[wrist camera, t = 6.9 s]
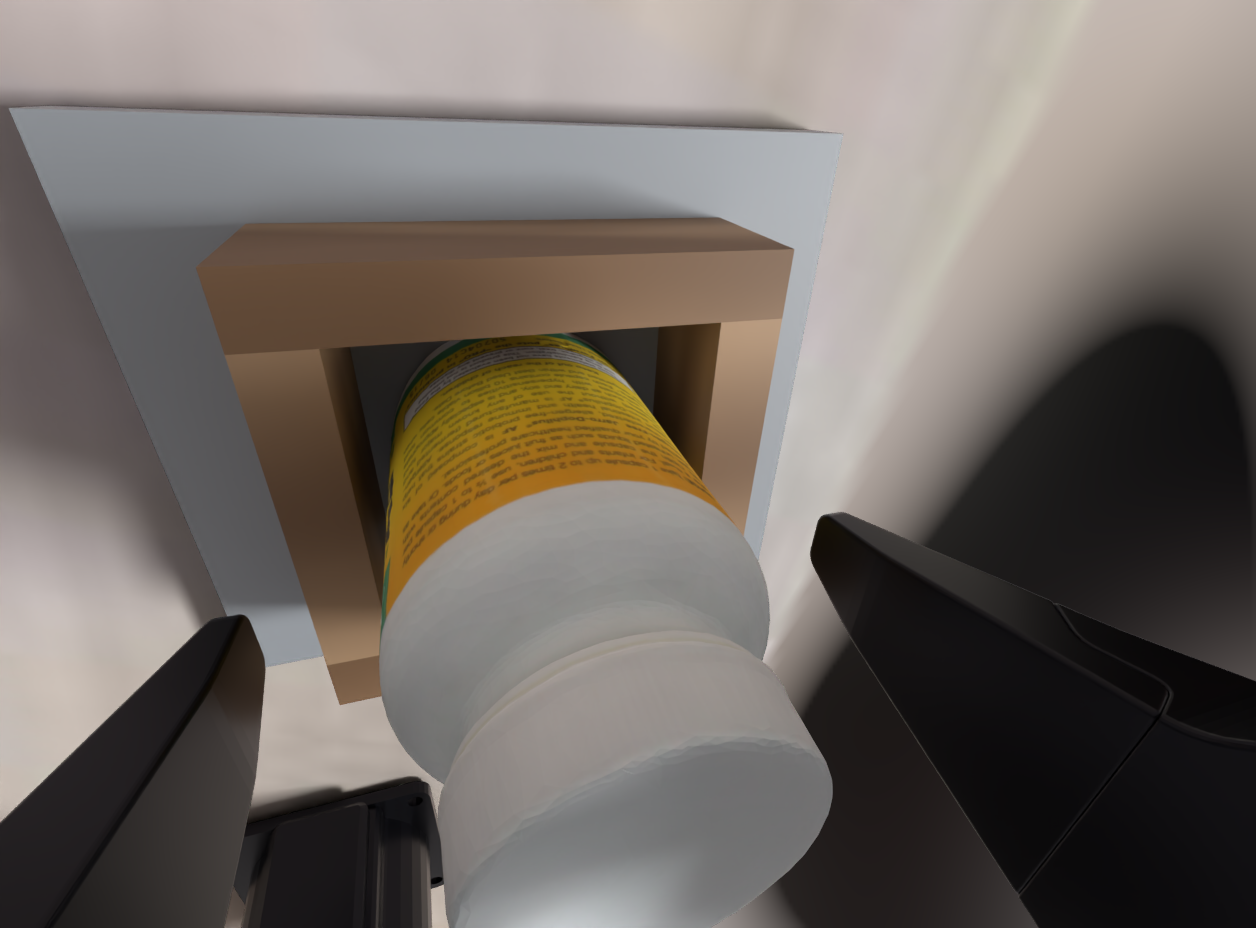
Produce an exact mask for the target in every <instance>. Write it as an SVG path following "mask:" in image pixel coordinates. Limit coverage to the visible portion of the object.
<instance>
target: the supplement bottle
mask: <svg viewBox="0 0 1256 928" xmlns="http://www.w3.org/2000/svg"><path fill="white" fill-rule="evenodd" d="M769 622H770V613H769V598H768V591H767V586H766V582H765V579H764V575H763V573H762V570H761V567H760V565H759V562H758V560H757V558H756V556H755V554H754V553H753V551H752V549H751V547H750V545H749V544H748V542H747V541H746V540H745V538H744V537H743V535H742V534H741V532H740V531H739V529H738V528H737V527H736V525H735V524H734V522H733V521H732V520H731V518H730V517H729V516H728V514H727V513H726V512H725V511H724V509H723V508H722V507H721V505H720V504H719V503H718V501H717V500H716V499H715V498H714V496H713V495H712V494H711V492H710V491H709V490H708V489H707V487H706V486H705V485H704V483H703V482H702V481H701V479H700V478H699V477H698V475H697V474H696V473H695V471H694V470H693V469H692V467H691V466H690V465H689V464H688V462H687V461H686V460H685V458H684V457H683V456H682V454H681V453H680V452H679V450H678V449H677V447H676V446H675V445H674V443H673V442H672V441H671V439H670V438H669V437H668V435H667V434H666V433H665V431H664V430H663V429H662V427H661V426H660V424H659V423H658V422H657V420H656V419H655V418H654V416H653V415H652V414H651V412H650V411H649V410H648V408H647V407H646V406H645V404H644V403H643V402H642V400H641V399H640V398H639V396H638V395H637V394H636V392H635V391H634V389H633V388H632V387H631V385H630V384H629V383H628V381H627V380H626V379H625V377H624V376H623V375H622V373H621V372H620V371H619V370H618V368H617V367H616V366H615V365H614V364H613V363H612V361H611V360H610V359H609V358H608V357H607V356H606V355H604V354H603V353H602V352H601V351H600V350H599V349H598V348H596V347H595V346H593V345H592V344H590V343H589V342H587V341H585V340H583V339H582V338H580V337H578V336H576V335H573V334H571V333H555V334H540V335H525V336H509V337H494V338H479V339H464V340H450V341H448V342H447V343H445V344H443V345H441V346H440V347H439V348H437V349H436V350H435V351H433V352H432V353H431V354H430V355H429V356H428V357H427V358H426V359H425V360H424V361H423V362H422V363H421V364H420V366H419V367H418V368H417V370H416V371H415V372H414V374H413V375H412V376H411V378H410V380H409V381H408V383H407V385H406V387H405V389H404V391H403V393H402V395H401V398H400V400H399V403H398V405H397V408H396V412H395V416H394V420H393V426H392V434H391V443H390V467H389V485H388V502H387V510H386V542H385V565H384V582H383V595H382V612H381V631H380V650H379V672H380V686H381V694H382V700H383V703H384V707H385V710H386V714H387V717H388V720H389V722H390V725H391V727H392V729H393V730H394V732H395V734H396V736H397V738H398V740H399V741H400V743H401V745H402V746H403V747H404V749H405V750H406V752H407V753H408V754H409V755H410V756H411V757H412V758H413V760H414V761H415V762H416V763H417V764H418V765H419V766H420V767H421V768H422V769H424V770H425V771H426V772H427V773H428V774H430V775H431V776H432V777H434V778H435V779H437V780H438V781H440V782H441V783H443V784H444V786H443V789H442V791H441V796H440V801H439V806H438V829H439V835H440V840H441V851H442V865H443V878H444V892H445V905H446V915H447V920H448V924H449V928H711V927H713V926H714V925H716V924H718V923H720V922H721V921H723V920H724V919H725V918H727V917H729V916H731V915H732V914H734V913H736V912H737V911H739V910H740V909H742V908H743V907H744V906H746V905H747V904H749V903H750V902H751V901H753V900H754V899H755V898H756V897H758V896H759V895H760V894H761V893H763V891H765V890H766V889H767V888H769V887H770V886H771V885H772V884H773V883H775V882H776V881H777V880H778V879H779V878H781V877H782V876H783V875H784V874H785V873H786V872H788V871H789V870H790V869H791V868H792V867H793V866H794V865H795V863H796V862H797V861H798V860H800V859H801V857H803V856H804V854H805V853H806V851H807V850H808V849H809V847H810V846H811V844H812V843H813V841H814V840H815V839H816V837H817V836H818V834H819V832H820V830H821V828H822V826H823V824H824V822H825V819H826V817H827V816H828V813H829V810H830V806H831V801H832V779H831V776H830V772H829V770H828V766H827V764H826V761H825V760H824V758H823V756H822V754H821V753H820V751H819V750H818V747H817V746H816V744H815V742H814V741H813V739H812V737H811V736H810V734H809V732H808V731H807V729H806V727H805V725H804V724H803V722H802V720H801V719H800V717H799V715H798V714H797V712H796V710H795V708H794V707H793V705H792V703H791V702H790V700H789V698H788V695H787V693H786V690H785V688H784V686H783V684H782V682H781V681H780V680H779V678H778V677H777V676H776V674H775V673H774V672H773V671H772V670H771V669H770V668H769V667H768V666H767V665H766V664H765V663H763V662H762V659H763V656H764V653H765V650H766V646H767V640H768V634H769Z"/></svg>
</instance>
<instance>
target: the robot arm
mask: <svg viewBox="0 0 1256 928" xmlns="http://www.w3.org/2000/svg"><path fill="white" fill-rule="evenodd" d="M810 557H811V561H812V564H813V567H814V569H815V571H816V573H817V574H818V576H819V578H820V580H821V582H822V584H823V586H824V588H825V590H826V592H827V594H828V596H829V598H830V600H831V602H832V604H833V606H834V607H835V609H836V611H837V613H838V615H839V617H840V619H841V621H842V623H843V625H844V626H845V628H846V630H847V632H848V634H849V636H850V637H851V639H852V641H853V642H854V644H855V646H856V647H857V649H858V650H859V652H860V653H861V655H862V656H863V658H864V659H865V661H866V662H867V664H868V666H869V667H870V669H871V670H872V672H873V673H874V675H875V677H876V678H877V679H878V681H879V683H880V684H881V686H882V687H883V689H884V690H885V692H886V693H887V695H888V696H889V698H890V700H891V701H892V703H893V704H894V706H895V707H896V709H897V710H898V712H899V713H900V715H901V716H902V718H903V719H904V721H905V723H906V724H907V726H908V727H909V729H910V730H911V731H912V733H913V735H914V736H915V738H916V740H917V741H918V743H919V744H920V746H921V747H922V749H923V750H924V752H925V753H926V755H927V757H928V758H929V759H930V761H931V763H932V764H933V766H934V767H935V769H936V770H937V772H938V773H939V775H940V777H941V778H942V780H943V781H944V783H945V784H946V786H947V787H948V789H949V790H950V792H951V793H952V795H953V796H954V798H955V800H956V801H957V802H958V804H959V806H960V807H961V809H962V810H963V812H964V813H965V815H966V816H967V818H968V820H969V821H970V823H971V824H972V826H973V827H974V829H975V830H976V832H977V833H978V835H979V837H980V838H981V840H982V841H983V843H984V844H985V846H986V847H987V849H988V850H989V852H990V853H991V855H992V856H993V858H994V860H995V861H996V863H997V864H998V866H999V867H1000V869H1001V870H1002V872H1003V873H1004V875H1005V877H1006V878H1007V880H1008V881H1009V883H1010V884H1011V886H1012V887H1013V889H1014V890H1015V892H1016V893H1019V894H1018V897H1019V899H1020V900H1021V902H1022V903H1023V905H1024V906H1025V908H1026V909H1027V911H1028V912H1029V914H1030V915H1031V917H1032V918H1033V920H1034V922H1035V923H1036V925H1037V926H1038V928H1256V681H1254V680H1251V679H1249V678H1246V677H1244V676H1241V675H1238V674H1235V673H1233V672H1230V671H1227V670H1225V669H1222V668H1219V667H1217V666H1214V665H1211V664H1209V663H1206V662H1203V661H1200V660H1198V659H1195V658H1193V657H1190V656H1187V655H1184V654H1182V653H1179V652H1176V651H1174V650H1171V649H1169V648H1166V647H1163V646H1161V645H1158V644H1155V643H1153V642H1150V641H1148V640H1145V639H1142V638H1140V637H1137V636H1135V635H1132V634H1129V633H1127V632H1124V631H1122V630H1119V629H1117V628H1114V627H1112V626H1109V625H1107V624H1105V623H1102V622H1099V621H1097V620H1095V619H1092V618H1090V617H1088V616H1085V615H1083V614H1080V613H1078V612H1076V611H1073V610H1071V609H1069V608H1067V607H1064V606H1062V605H1060V604H1053V602H1052V601H1050V600H1048V599H1045V598H1043V597H1041V596H1038V595H1036V594H1034V593H1031V592H1029V591H1027V590H1024V589H1022V588H1019V587H1017V586H1015V585H1013V584H1010V583H1008V582H1006V581H1003V580H1001V579H999V578H996V577H994V576H992V575H989V574H987V573H985V572H982V571H980V570H977V569H975V568H973V567H971V566H968V565H966V564H964V563H961V562H959V561H957V560H954V559H952V558H950V557H947V556H945V555H943V554H940V553H938V552H936V551H933V550H931V549H929V548H926V547H924V546H922V545H919V544H917V543H915V542H912V541H910V540H908V539H905V538H903V537H900V536H898V535H896V534H894V533H891V532H889V531H887V530H884V529H882V528H880V527H877V526H875V525H873V524H870V523H868V522H866V521H864V520H861V519H859V518H857V517H854V516H852V515H850V514H847V513H844V512H837V513H831V514H826V515H823V516H821V517H820V519H819V520H818V523H817V527H816V531H815V534H814V538H813V542H812V546H811V551H810ZM265 670H266V669H265V658H264V654H263V652H262V649H261V647H260V644H259V642H258V639H257V637H256V634H255V632H254V629H253V627H252V624H251V622H250V620H249V619H248V617H247V616H245V615H242V614H238V615H232V616H226V617H220V618H215V619H212V620H210V621H208V622H207V623H206V624H205V625H204V626H203V627H202V628H200V629H199V630H198V631H197V632H196V633H195V634H194V635H193V636H192V637H191V638H190V639H189V640H188V641H187V642H186V643H185V644H184V645H183V646H182V647H181V648H180V649H179V650H178V651H177V652H176V653H175V654H174V655H173V656H172V657H171V658H170V659H169V660H167V661H166V662H165V663H164V664H163V665H162V666H161V667H160V668H159V669H158V670H157V671H156V672H155V673H154V674H153V675H152V676H151V677H150V678H149V679H148V680H147V681H146V682H145V683H144V684H143V685H142V686H141V687H140V688H139V689H138V690H137V691H136V692H134V693H133V694H132V695H131V696H130V697H129V698H128V699H127V700H126V701H125V702H124V703H123V704H122V705H121V706H120V707H119V708H118V709H117V710H116V711H115V712H114V713H113V714H112V715H111V716H110V717H109V718H108V719H107V720H106V721H105V722H104V723H102V724H101V725H100V726H99V727H98V728H97V729H96V730H95V731H94V732H93V733H92V734H91V735H90V736H89V737H88V738H87V739H86V740H85V741H84V742H83V743H82V744H81V745H80V746H79V747H78V748H77V749H76V750H75V751H74V752H73V753H72V754H71V755H69V756H68V757H67V758H66V759H65V760H64V761H63V762H62V763H61V764H60V765H59V766H58V767H57V768H56V769H55V770H54V771H53V772H52V773H51V774H50V775H49V776H48V777H47V778H46V779H45V780H44V781H43V782H42V783H41V784H40V785H39V786H38V787H36V788H35V789H34V790H33V791H32V792H31V793H30V794H29V795H28V796H27V797H26V798H25V799H24V800H23V801H22V802H21V803H20V804H19V805H18V806H17V807H16V808H15V809H14V810H13V811H12V812H11V813H10V814H9V815H8V816H7V817H6V818H5V819H3V820H2V821H1V822H0V928H224V926H225V921H226V917H227V912H228V907H229V903H230V898H231V893H232V889H233V886H234V888H235V890H236V891H237V893H238V894H239V896H240V898H241V899H242V901H243V902H244V904H245V909H244V914H243V919H242V924H241V928H432V911H431V889H432V888H435V887H438V886H441V885H443V884H444V878H443V865H442V851H441V840H440V835H439V829H438V818H437V814H436V810H435V805H434V801H433V797H432V792H431V788H430V786H429V784H428V783H426V782H421V781H417V782H411V783H408V784H404V785H400V786H396V787H392V788H388V789H384V790H380V791H376V792H372V793H369V794H365V795H361V796H357V797H353V798H349V799H345V800H341V801H337V802H333V803H329V804H326V805H322V806H318V807H314V808H310V809H306V810H302V811H298V812H294V813H290V814H287V815H283V816H279V817H275V818H271V819H267V820H263V821H259V822H255V823H251V824H247V825H246V823H247V819H248V814H249V809H250V805H251V800H252V795H253V790H254V784H255V779H256V771H257V762H258V751H259V740H260V728H261V717H262V706H263V694H264V683H265Z"/></svg>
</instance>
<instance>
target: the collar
mask: <svg viewBox="0 0 1256 928" xmlns="http://www.w3.org/2000/svg"><path fill="white" fill-rule="evenodd" d="M794 250H795V249H793V248H791V247H788V246H786V245H784V244H781V243H779V242H776V241H774V240H772V239H769V238H767V237H765V236H762V235H760V234H758V233H755V232H753V231H750V230H748V229H746V228H743V227H741V226H739V225H736V224H734V223H732V222H729V221H727V220H724V219H722V218H643V219H566V220H489V221H412V222H335V223H258V224H245V225H244V226H242V227H241V228H240V229H239V230H238V231H237V232H235V233H234V234H233V235H232V236H231V237H230V238H229V239H227V240H226V241H225V242H224V243H223V244H222V245H221V246H219V247H218V248H217V249H216V250H215V251H214V252H212V253H211V254H210V255H209V256H208V257H207V258H206V259H204V260H203V261H202V262H201V263H200V264H199V265H197V266H196V270H197V273H198V276H199V279H200V282H201V285H202V288H203V291H204V294H205V297H206V300H207V303H208V306H209V309H210V312H211V315H212V318H213V321H214V324H215V328H216V331H217V334H218V337H219V340H220V343H221V346H222V349H223V352H224V355H225V358H226V361H227V364H228V367H229V370H230V373H231V376H232V379H233V382H234V385H235V388H236V391H237V394H238V397H239V400H240V403H241V406H242V409H243V413H244V416H245V419H246V422H247V425H248V428H249V431H250V434H251V437H252V440H253V443H254V446H255V449H256V452H257V455H258V458H259V461H260V464H261V467H262V470H263V473H264V476H265V479H266V482H267V485H268V488H269V491H270V494H271V498H272V501H273V504H274V507H275V510H276V513H277V516H278V519H279V522H280V525H281V528H282V531H283V534H284V537H285V540H286V543H287V546H288V549H289V552H290V555H291V558H292V561H293V564H294V567H295V570H296V573H297V576H298V579H299V583H300V586H301V589H302V592H303V595H304V598H305V601H306V604H307V607H308V610H309V613H310V616H311V619H312V622H313V625H314V628H315V631H316V634H317V637H318V640H319V643H320V646H321V649H322V652H323V655H324V658H325V661H326V664H327V668H328V671H329V674H330V677H331V680H332V683H333V686H334V689H335V692H336V695H337V698H338V701H339V704H340V705H342V704H347V703H352V702H356V701H361V700H366V699H370V698H375V697H379V696H382V694H381V686H380V672H379V650H380V631H381V612H382V595H383V582H384V565H385V542H386V516H385V511H384V506H383V502H382V497H381V492H380V488H379V483H378V478H377V473H376V469H375V464H374V459H373V455H372V450H371V445H370V441H369V436H368V431H367V426H366V422H365V417H364V412H363V408H362V403H361V398H360V394H359V389H358V384H357V379H356V375H355V370H354V365H353V361H352V356H351V351H350V347H357V346H372V345H388V344H403V343H418V342H433V341H449V340H464V339H479V338H494V337H509V336H525V335H540V334H555V333H570V332H586V331H601V330H616V329H631V328H647V327H659V330H658V345H657V359H656V374H655V389H654V403H653V416H654V418H655V419H656V420H657V422H658V423H659V424H660V426H661V427H662V429H663V430H664V431H665V433H666V434H667V435H668V437H669V438H670V439H671V441H672V442H673V443H674V445H675V446H676V447H677V449H678V450H679V452H680V453H681V454H682V456H683V457H684V458H685V460H686V461H687V462H688V464H689V465H690V466H691V467H692V469H693V470H694V471H695V473H696V474H697V475H698V477H699V478H700V479H701V481H702V482H703V483H704V485H705V486H706V487H707V489H708V490H709V491H710V492H711V494H712V495H713V496H714V498H715V499H716V500H717V501H718V503H719V504H720V505H721V507H722V508H723V509H724V511H725V512H726V513H727V514H728V516H729V517H730V518H731V520H732V521H733V522H734V524H735V525H736V527H737V528H738V529H739V531H740V532H741V534H742V535H743V537H744V531H745V526H746V520H747V514H748V509H749V503H750V497H751V492H752V486H753V481H754V475H755V469H756V464H757V458H758V452H759V447H760V441H761V436H762V430H763V424H764V419H765V413H766V407H767V402H768V396H769V391H770V385H771V379H772V374H773V368H774V362H775V357H776V351H777V345H778V340H779V334H780V329H781V323H782V317H783V312H784V306H785V300H786V295H787V289H788V284H789V278H790V272H791V267H792V261H793V255H794Z"/></svg>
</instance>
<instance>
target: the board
mask: <svg viewBox="0 0 1256 928" xmlns="http://www.w3.org/2000/svg"><path fill="white" fill-rule="evenodd" d="M9 110H10V113H11V115H12V117H13V120H14V122H15V124H16V127H17V129H18V131H19V134H20V136H21V138H22V141H23V143H24V145H25V148H26V150H27V152H28V155H29V157H30V159H31V162H32V164H33V166H34V169H35V171H36V173H37V176H38V178H39V180H40V183H41V185H42V187H43V189H44V192H45V194H46V196H47V199H48V201H49V203H50V206H51V208H52V210H53V213H54V215H55V217H56V220H57V222H58V224H59V227H60V229H61V231H62V234H63V236H64V238H65V241H66V243H67V245H68V248H69V250H70V252H71V255H72V257H73V259H74V262H75V264H76V266H77V268H78V271H79V273H80V275H81V278H82V280H83V282H84V285H85V287H86V289H87V292H88V294H89V296H90V299H91V301H92V303H93V306H94V308H95V310H96V313H97V315H98V317H99V320H100V322H101V324H102V327H103V329H104V331H105V334H106V336H107V338H108V341H109V343H110V345H111V347H112V350H113V352H114V354H115V357H116V359H117V361H118V364H119V366H120V368H121V371H122V373H123V375H124V378H125V380H126V382H127V385H128V387H129V389H130V392H131V394H132V396H133V399H134V401H135V403H136V406H137V408H138V410H139V413H140V415H141V417H142V419H143V422H144V424H145V426H146V429H147V431H148V433H149V436H150V438H151V440H152V443H153V445H154V447H155V450H156V452H157V454H158V457H159V459H160V461H161V464H162V466H163V468H164V471H165V473H166V475H167V478H168V480H169V482H170V485H171V487H172V489H173V492H174V494H175V496H176V498H177V501H178V503H179V505H180V508H181V510H182V512H183V515H184V517H185V519H186V522H187V524H188V526H189V529H190V531H191V533H192V536H193V538H194V540H195V543H196V545H197V547H198V550H199V552H200V554H201V557H202V559H203V561H204V564H205V566H206V568H207V571H208V573H209V575H210V577H211V580H212V582H213V584H214V587H215V589H216V591H217V594H218V596H219V598H220V601H221V603H222V605H223V608H224V610H225V612H226V615H227V616H232V615H238V614H242V615H245V616H247V617H248V619H249V620H250V622H251V624H252V627H253V629H254V632H255V634H256V637H257V639H258V642H259V644H260V647H261V649H262V652H263V654H264V658H265V667H269V666H275V665H280V664H285V663H290V662H295V661H300V660H305V659H311V658H316V657H321V656H324V655H323V652H322V649H321V646H320V643H319V640H318V637H317V634H316V631H315V628H314V625H313V622H312V619H311V616H310V613H309V610H308V607H307V604H306V601H305V598H304V595H303V592H302V589H301V586H300V583H299V579H298V576H297V573H296V570H295V567H294V564H293V561H292V558H291V555H290V552H289V549H288V546H287V543H286V540H285V537H284V534H283V531H282V528H281V525H280V522H279V519H278V516H277V513H276V510H275V507H274V504H273V501H272V498H271V494H270V491H269V488H268V485H267V482H266V479H265V476H264V473H263V470H262V467H261V464H260V461H259V458H258V455H257V452H256V449H255V446H254V443H253V440H252V437H251V434H250V431H249V428H248V425H247V422H246V419H245V416H244V413H243V409H242V406H241V403H240V400H239V397H238V394H237V391H236V388H235V385H234V382H233V379H232V376H231V373H230V370H229V367H228V364H227V361H226V358H225V355H224V352H223V349H222V346H221V343H220V340H219V337H218V334H217V331H216V328H215V324H214V321H213V318H212V315H211V312H210V309H209V306H208V303H207V300H206V297H205V294H204V291H203V288H202V285H201V282H200V279H199V276H198V273H197V270H196V266H197V265H199V264H200V263H201V262H202V261H203V260H204V259H206V258H207V257H208V256H209V255H210V254H211V253H212V252H214V251H215V250H216V249H217V248H218V247H219V246H221V245H222V244H223V243H224V242H225V241H226V240H227V239H229V238H230V237H231V236H232V235H233V234H234V233H235V232H237V231H238V230H239V229H240V228H241V227H242V226H244V225H245V224H258V223H335V222H412V221H489V220H566V219H643V218H722V219H724V220H727V221H729V222H732V223H734V224H736V225H739V226H741V227H743V228H746V229H748V230H750V231H753V232H755V233H758V234H760V235H762V236H765V237H767V238H769V239H772V240H774V241H776V242H779V243H781V244H784V245H786V246H788V247H791V248H793V249H795V250H794V255H793V261H792V267H791V272H790V278H789V284H788V289H787V295H786V300H785V306H784V312H783V317H782V323H781V329H780V334H779V340H778V345H777V351H776V357H775V362H774V368H773V374H772V379H771V385H770V391H769V396H768V402H767V407H766V413H765V419H764V424H763V430H762V436H761V441H760V447H759V452H758V458H757V464H756V469H755V475H754V481H753V486H752V492H751V497H750V503H749V509H748V514H747V520H746V526H745V531H744V538H745V540H746V541H747V542H748V544H749V545H750V547H751V549H752V551H753V553H754V554H755V556H756V558H757V560H759V555H760V550H761V545H762V540H763V535H764V530H765V525H766V520H767V514H768V509H769V504H770V499H771V494H772V489H773V484H774V479H775V474H776V469H777V464H778V459H779V454H780V449H781V444H782V439H783V434H784V429H785V424H786V419H787V414H788V409H789V404H790V399H791V394H792V389H793V384H794V379H795V374H796V369H797V364H798V359H799V354H800V349H801V344H802V339H803V334H804V329H805V324H806V319H807V314H808V309H809V304H810V299H811V294H812V289H813V284H814V279H815V274H816V269H817V263H818V258H819V253H820V248H821V243H822V238H823V233H824V228H825V223H826V218H827V213H828V208H829V203H830V198H831V193H832V188H833V183H834V178H835V173H836V168H837V163H838V158H839V153H840V148H841V143H842V138H843V134H841V133H832V132H823V131H814V130H790V129H759V128H728V127H697V126H666V125H635V124H604V123H572V122H541V121H510V120H479V119H448V118H417V117H386V116H355V115H324V114H293V113H262V112H231V111H200V110H169V109H138V108H107V107H76V106H34V107H17V108H9ZM658 330H659V327H647V328H631V329H616V330H601V331H586V332H570V333H571V334H573V335H576V336H578V337H580V338H582V339H583V340H585V341H587V342H589V343H590V344H592V345H593V346H595V347H596V348H598V349H599V350H600V351H601V352H602V353H603V354H604V355H606V356H607V357H608V358H609V359H610V360H611V361H612V363H613V364H614V365H615V366H616V367H617V368H618V370H619V371H620V372H621V373H622V375H623V376H624V377H625V379H626V380H627V381H628V383H629V384H630V385H631V387H632V388H633V389H634V391H635V392H636V394H637V395H638V396H639V398H640V399H641V400H642V402H643V403H644V404H645V406H646V407H647V408H648V410H649V411H650V412H651V414H652V415H653V403H654V389H655V374H656V359H657V345H658ZM449 341H450V340H449ZM447 342H448V341H433V342H418V343H403V344H388V345H372V346H357V347H350V351H351V356H352V361H353V365H354V370H355V375H356V379H357V384H358V389H359V394H360V398H361V403H362V408H363V412H364V417H365V422H366V426H367V431H368V436H369V441H370V445H371V450H372V455H373V459H374V464H375V469H376V473H377V478H378V483H379V488H380V492H381V497H382V502H383V506H384V511H385V516H386V510H387V502H388V485H389V467H390V443H391V434H392V426H393V420H394V416H395V412H396V408H397V405H398V403H399V400H400V398H401V395H402V393H403V391H404V389H405V387H406V385H407V383H408V381H409V380H410V378H411V376H412V375H413V374H414V372H415V371H416V370H417V368H418V367H419V366H420V364H421V363H422V362H423V361H424V360H425V359H426V358H427V357H428V356H429V355H430V354H431V353H432V352H433V351H435V350H436V349H437V348H439V347H440V346H441V345H443V344H445V343H447Z"/></svg>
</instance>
